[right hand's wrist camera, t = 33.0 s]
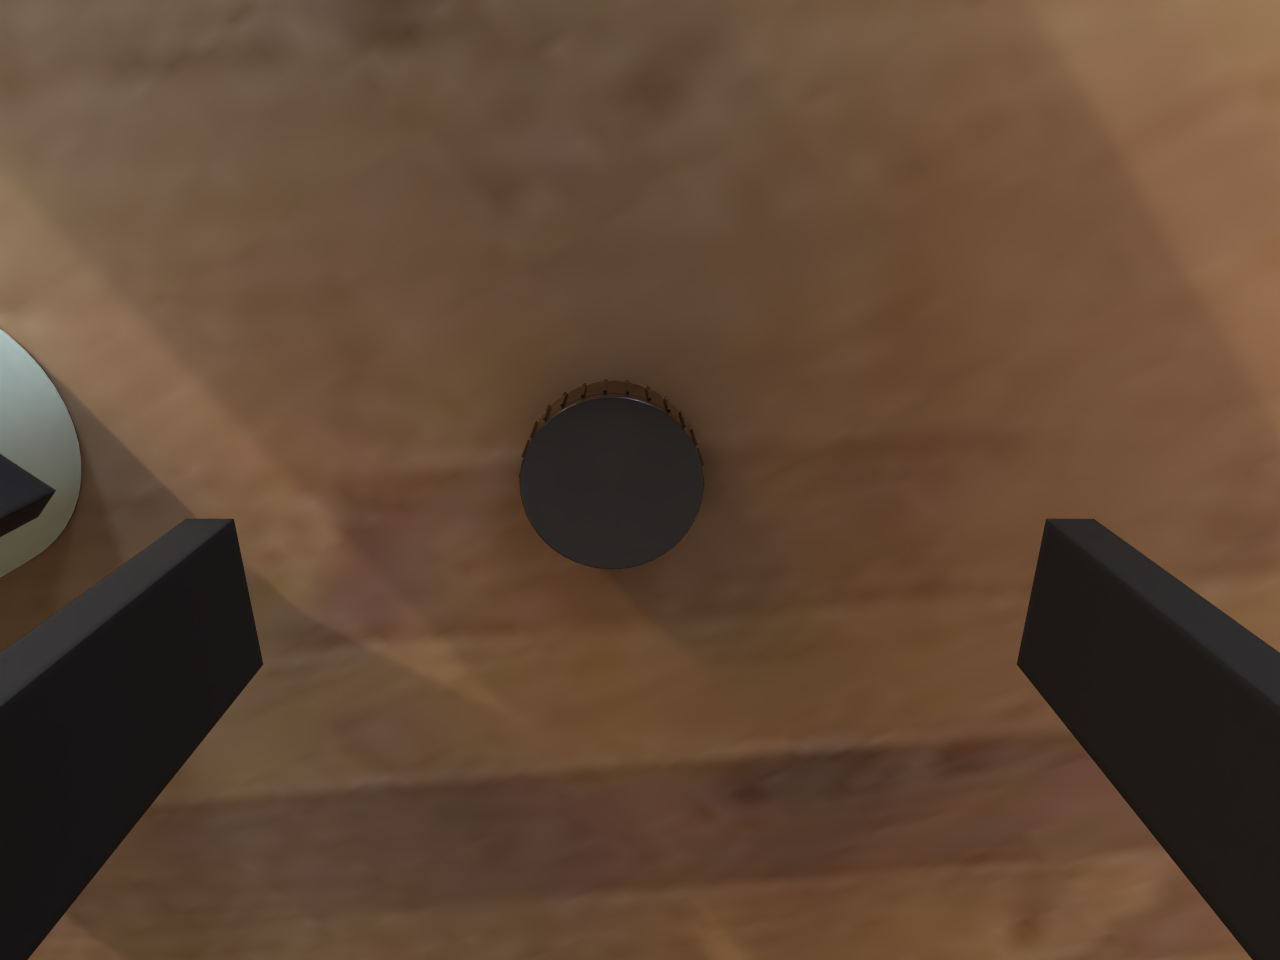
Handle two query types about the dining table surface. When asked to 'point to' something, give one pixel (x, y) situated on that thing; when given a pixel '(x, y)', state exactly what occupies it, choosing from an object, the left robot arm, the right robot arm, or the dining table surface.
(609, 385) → the cap
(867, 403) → the dining table surface
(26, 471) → the left robot arm
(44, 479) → the bottle
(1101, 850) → the dining table surface
